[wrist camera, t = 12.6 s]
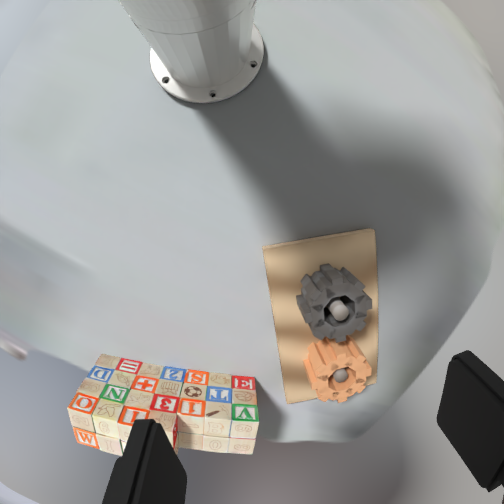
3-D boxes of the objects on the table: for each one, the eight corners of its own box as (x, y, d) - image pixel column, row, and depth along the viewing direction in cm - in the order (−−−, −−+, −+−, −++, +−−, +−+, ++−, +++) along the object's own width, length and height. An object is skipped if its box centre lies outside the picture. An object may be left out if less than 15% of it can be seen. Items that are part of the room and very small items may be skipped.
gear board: (262, 246, 36) (268, 263, 29) (369, 228, 36) (396, 240, 30) (285, 397, 42) (293, 431, 35) (372, 377, 42) (390, 406, 35)
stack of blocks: (255, 375, 41) (263, 441, 29) (249, 408, 42) (254, 473, 30) (100, 352, 39) (65, 408, 27) (104, 387, 40) (76, 444, 28)
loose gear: (300, 339, 38) (309, 361, 33) (357, 326, 38) (372, 346, 33) (305, 384, 40) (313, 408, 35) (357, 372, 40) (370, 394, 35)
